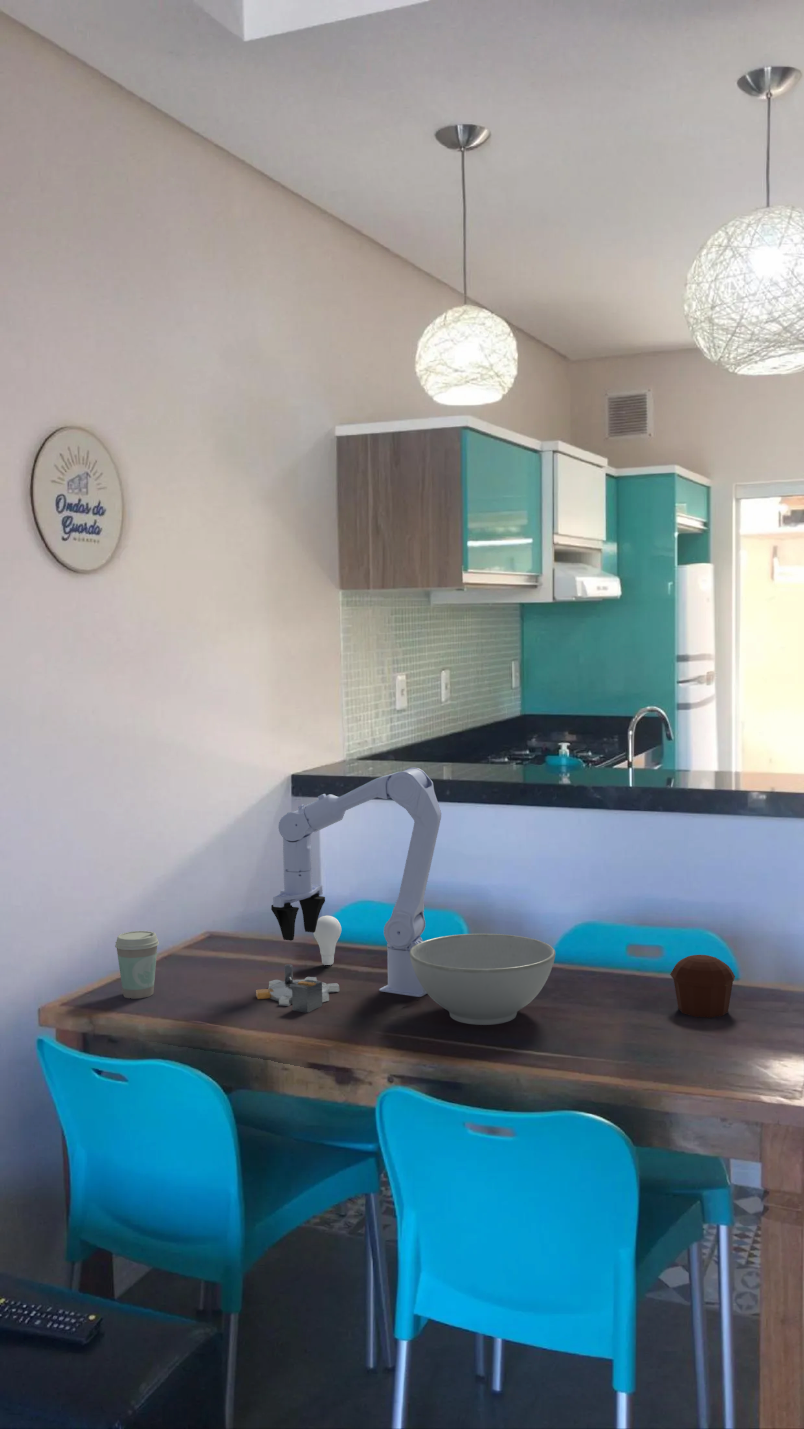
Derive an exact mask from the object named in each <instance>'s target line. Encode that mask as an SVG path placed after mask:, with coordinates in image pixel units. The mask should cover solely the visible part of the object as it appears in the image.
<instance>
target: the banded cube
mask: <svg viewBox="0 0 804 1429" xmlns="http://www.w3.org/2000/svg"><path fill="white" fill-rule="evenodd" d="M320 981H321V980H317V981H313V980H305V981H300V982H298V984H296V985H293V986H292V1007H291V1008H292V1011H294V1012H299V1013H305V1014H308V1013H310V1012H313V1011H315V1010H317V1009H319V1008H321V1007H323V1002H322V982H323V981H321V982H320Z"/></svg>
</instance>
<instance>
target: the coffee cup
mask: <svg viewBox="0 0 804 1429" xmlns="http://www.w3.org/2000/svg"><path fill="white" fill-rule="evenodd" d="M159 944H160V942H159V939H158V936H157V933H156V932H153V931H151V930H150V931H148V930H135V931H133V930H132V931H128V932H124V933H123V932H122V933H120V934H119V935H117V937H116V941H115V945H114V947H115V948H116V953H117V954H116V955H117V960H118V966H119V973H120V975H119V976H120V980H121V988H122V989H121V990H122V995H123V997H124V998H126V999H130V998H131V1000H133V999H134V1000H137V999H145V998H149V997H151V996H152V995H153V994H154V988H155V978H156V967H157V966H156V965H157V954H158V946H159Z"/></svg>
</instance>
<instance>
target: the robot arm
mask: <svg viewBox="0 0 804 1429" xmlns="http://www.w3.org/2000/svg"><path fill="white" fill-rule="evenodd" d="M376 798H379V799H383V800H388V799H392V801H394V802H395V803H396V804H398V805H399V806H400V807H402V808H403V809H405V811H407V813H408V814H409V816H410V818H412V819H413V821H414V823H413V827H412V828H413V829H412V832H411V838H410V842H409V847H408V850H407V856H406V860H405V864H404V865H405V866H404V869H403V874H402V878H401V879H402V880H401V883H400V888H399V893H398V897H397V900H396V902H395V904H394V907H393V909H392V913H391V916H390V918H389V919H388V921H386V922H385V925H384V926H383V936H384V938H385V941H386V942H387V943H386V948H387V949H386V951H387V952H386V953H387V954H386V955H387V958H386V960H387V985H384V986H383V987H381V988H379V989H378V990H379V992H383V993H384V992H385V993H390V994H397V995H404V996H410V997H417V998H418V997H419V998H420V997H424V996H425V995H428V994H427V992H426V991H425V990H424V988H423V987H422V985H421V983H420V982H419V980H418V978H417V976H416V974H415V971H414V969H413V966H412V963H411V959H410V950H411V948H412V947H413V946H415V945H416V944H418V943H421V942H423V941H424V940H423V938H422V937H421V935H422V934H423V933H424V931H425V928H426V920H425V915H424V914H425V913H424V912H425V907H426V906H425V902H424V899H425V894H426V889H427V884H428V880H429V875H430V871H431V865H432V861H433V856H434V853H435V847H436V842H437V838H438V834H439V828H440V824H441V820H442V812H441V807H440V803H439V802H438V799H437V796H436V792H435V787H434V782H433V781H432V779H431V778H430V777H429V776H428V774H427V773H426V772H425V771H424V770H423V769H421V768H419V767H414V766H413V767H412V766H411V767H408V768H406V769H404V770H403V771H397V772H393V773H390V774H386V775H383V776H380V777H377V778H374V779H372V780H370V781H368V782H366V783H365V784H363V785H360V786H358V787H356V788H354V789H352V790H351V791H349V792H347V793H345V794H342V795H340V796H336V795H334V794H326V793H323V794H320V795H318V796H317V800H314V801H312V802H310V803H308V804H306V805H305V804H300V805H298V809H297V810H294V811H289V812H287V813H286V814H284V815H283V816H282V817H281V818H280V820H279V821H278V828H277V829H278V832H279V834H280V836H281V837H282V843H283V844H282V856H283V857H282V859H283V889H280V890H279V891H280V893H279V894H278V895H276V896H273V898H272V900H273V902H272V903H273V904H272V905H271V911H272V913H273V915H274V917H275V918H276V920H277V923H278V925H279V929H280V932H281V935H282V938H283V940H284V941H294V939H295V930H296V928H295V927H296V926H295V925H296V919H297V914H298V912H299V910H300V909H301V912H302V917H303V918H302V920H303V928H304V932H305V933H312V934H313V933H314V932H315V930H316V925H317V921H318V919H319V918H320V917H319V916H320V912H321V911H322V908H323V906H324V904H325V902H326V897H325V896H322V895H323V885H322V884H313V867H312V861H313V860H312V838H311V837H312V834H313V833H316V832H319V831H321V830H323V829H325V828H327V827H329V826H330V827H331V826H332V825H334V824H336V823H338V822H341V821H342V820H343V819H344V817H345V813H346V811H348V810H350V809H353V808H356V807H357V806H360V805H362V804H365V803H366V802H369V801H371V800H373V799H376ZM296 902H299V904H300V908H299V906H293V905H292V903H296Z"/></svg>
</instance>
